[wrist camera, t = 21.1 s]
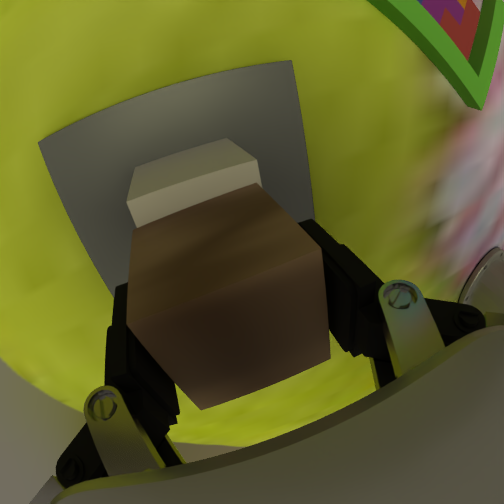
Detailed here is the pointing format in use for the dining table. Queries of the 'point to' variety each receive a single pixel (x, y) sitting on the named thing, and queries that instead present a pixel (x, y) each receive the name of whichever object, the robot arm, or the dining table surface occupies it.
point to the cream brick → (189, 179)
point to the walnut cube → (228, 296)
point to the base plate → (173, 141)
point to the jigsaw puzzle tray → (453, 39)
